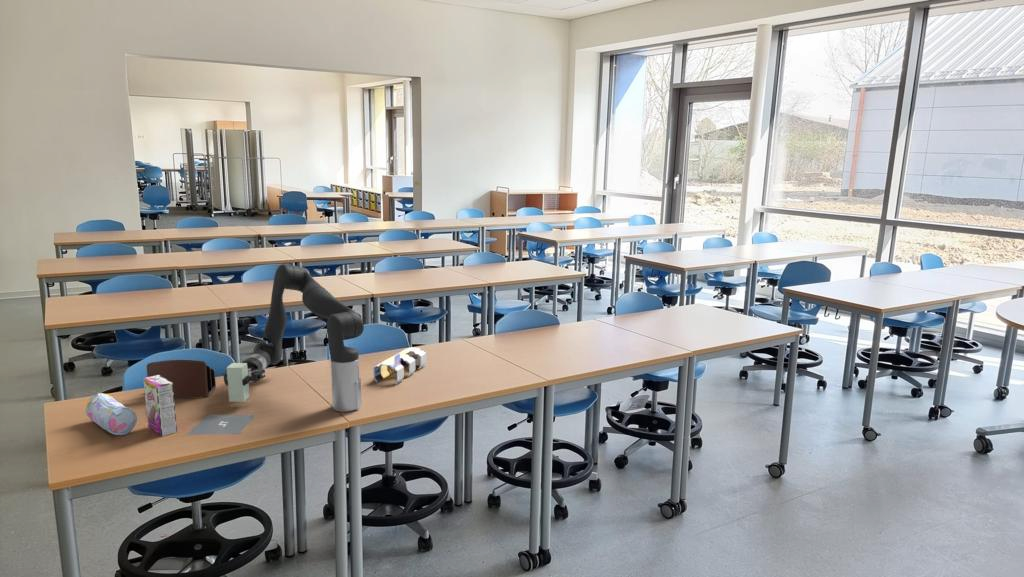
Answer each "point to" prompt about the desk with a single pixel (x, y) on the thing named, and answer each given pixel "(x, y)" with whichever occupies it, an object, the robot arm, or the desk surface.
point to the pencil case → (111, 414)
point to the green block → (237, 382)
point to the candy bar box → (160, 405)
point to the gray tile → (222, 424)
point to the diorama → (400, 364)
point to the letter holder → (185, 377)
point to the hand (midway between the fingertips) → (235, 382)
